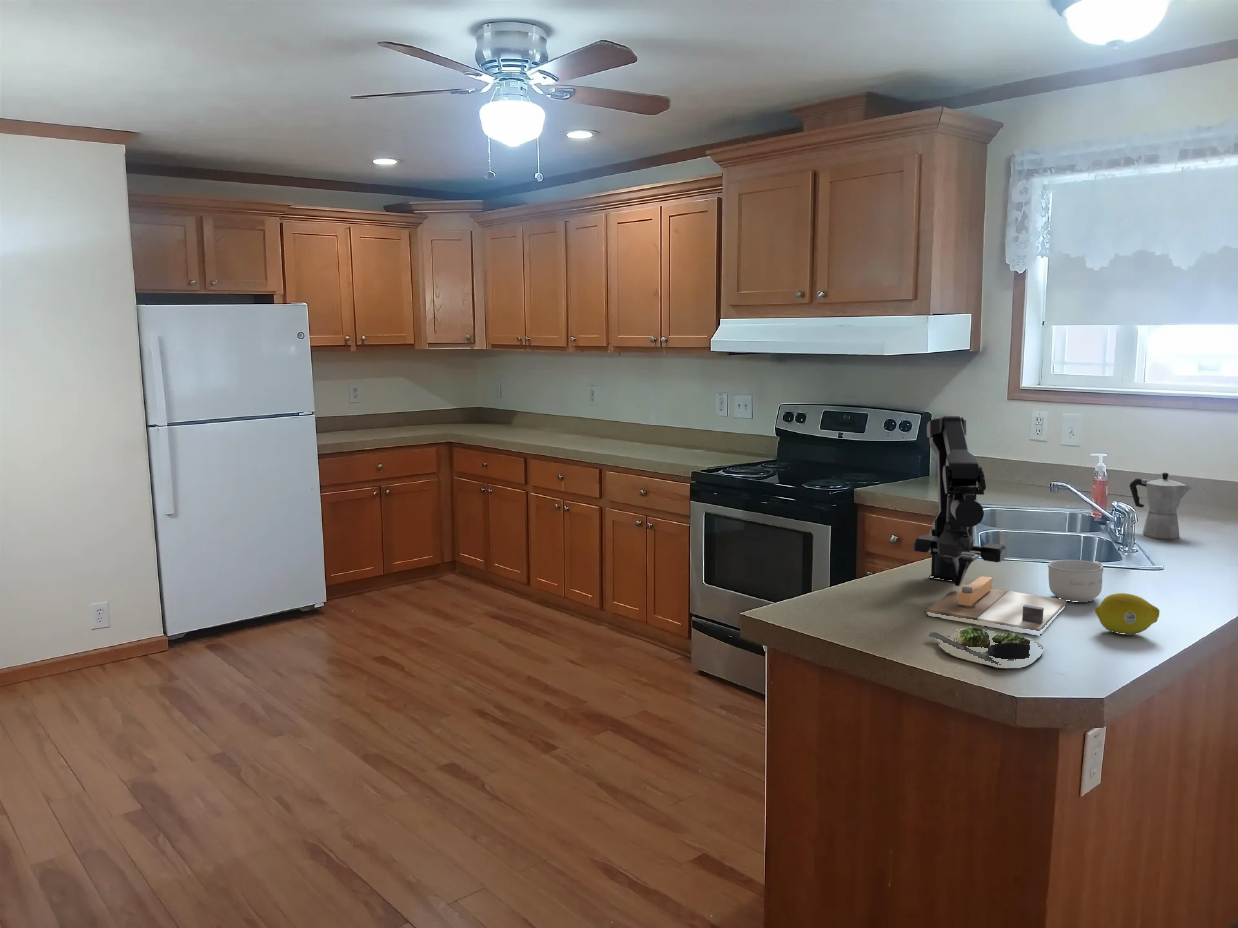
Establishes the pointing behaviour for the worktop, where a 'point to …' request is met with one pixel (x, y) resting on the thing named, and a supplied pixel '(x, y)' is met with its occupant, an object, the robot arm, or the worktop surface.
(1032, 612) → the door and jamb
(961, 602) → the bar
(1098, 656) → the worktop surface
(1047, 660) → the worktop surface
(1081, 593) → the teacup
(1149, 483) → the coffeepot
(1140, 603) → the lemon
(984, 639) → the salad plate
